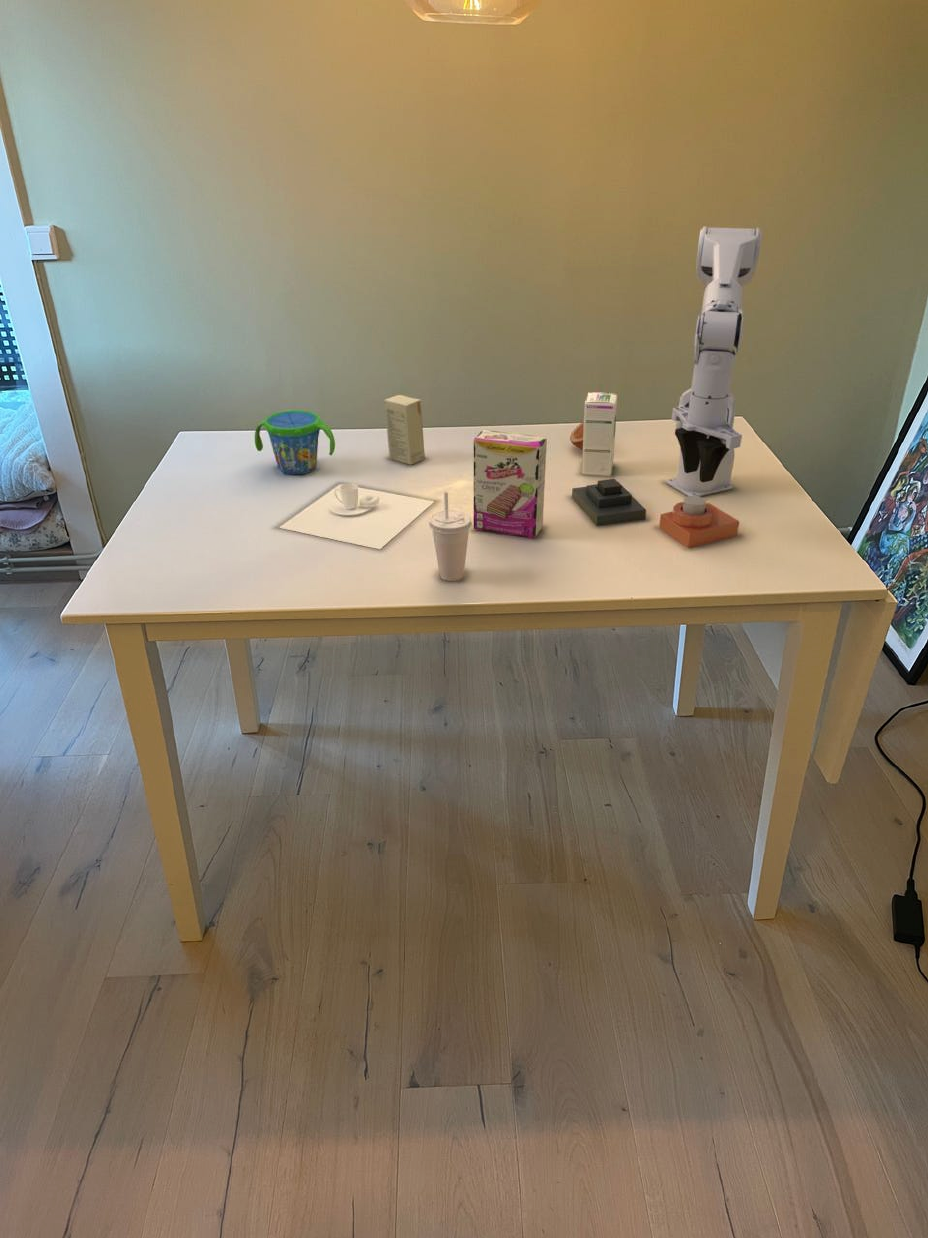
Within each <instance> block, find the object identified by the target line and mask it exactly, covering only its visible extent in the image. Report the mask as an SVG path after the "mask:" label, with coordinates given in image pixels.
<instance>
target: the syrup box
mask: <svg viewBox="0 0 928 1238" xmlns="http://www.w3.org/2000/svg"><path fill="white" fill-rule="evenodd" d="M617 404H618V394H617V393H615V392H614V393H613V392H606V391H605V392H602V391H601V392H587V394H586V398H585V401H584V410H583V411H584V414H583V421H584V431H583V449H582V456H581V457H582V459H581V474H582V475H586V476H598V477H599V476H600V477H611V475H612V473H613V467H614V456H615V443H616V442H615V441H616V428H617V427H616V426H617V407H618V405H617Z"/></svg>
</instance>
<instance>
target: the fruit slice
mask: <svg viewBox="0 0 928 1238" xmlns="http://www.w3.org/2000/svg"><path fill="white" fill-rule="evenodd" d="M583 431H584V420H583V421H582V422H580V424H578V425H577V426H576V427H575V428H574V429H573V430H572V432H571V434H570V436H569V440H570V442H571V444H572V445H573V446H574V447H576V448H578V449H581V450H583Z"/></svg>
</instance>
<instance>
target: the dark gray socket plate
mask: <svg viewBox="0 0 928 1238" xmlns="http://www.w3.org/2000/svg"><path fill="white" fill-rule="evenodd" d="M617 482H618V483H619V484H620V485H621V486H622V488H621V494H615V495H608V496H603V495H602V494H601V493H600V492H599V491H598V490H597V484H587V485H585V486H581V487H573V488H572V489H571V499H572V500H573V501H574V502H575V504H577V505H578V507H579V508H580V509H581V510H582V511H583V512H584V514H585V515H586V516H587V518H589V520H591V522H592V523H593V524H594V525H595V526H596V527H599V526H606V525H614V524H621V523H629V522H636V521H643V520H646V517H647V516H646V514H647V509H646V508H645V507H644V506H643V505H642V504H641V503H640V502H639V501H638V500H637V499H636V498H635V497H634V496H633V495H632V494H631V493H630V491H629V490H627V488H625V487H624V486H623V485H622V484H621V483H620V482H619V481H617Z"/></svg>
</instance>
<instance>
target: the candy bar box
mask: <svg viewBox="0 0 928 1238" xmlns="http://www.w3.org/2000/svg"><path fill="white" fill-rule="evenodd" d="M547 441H548V438H547V437H545V436H537V435H529V434H522V433H521V434H520V433H514V432H513V433H512V432H505V431H498V430H497V431H496V430H488V429H481V431H480V432H479V433H478V434H477V435H476V436H475V437H474V439H473V530H476V531H480V532H481V531H482V532H488V533H495V534H501V535H502V534H503V535H509V536H516V537H522V538H530V539H536V538H537V537H538V535H539V533H540V531H541V530H542V529H543V526H544V506H545V484H546V483H545V482H546V464H547V443H548V442H547Z"/></svg>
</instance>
